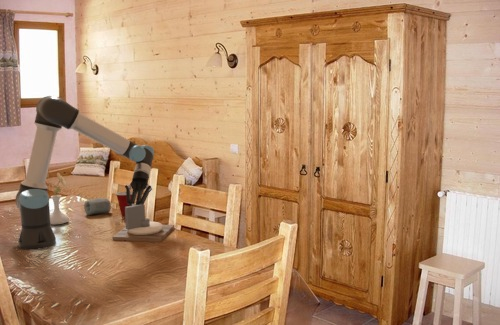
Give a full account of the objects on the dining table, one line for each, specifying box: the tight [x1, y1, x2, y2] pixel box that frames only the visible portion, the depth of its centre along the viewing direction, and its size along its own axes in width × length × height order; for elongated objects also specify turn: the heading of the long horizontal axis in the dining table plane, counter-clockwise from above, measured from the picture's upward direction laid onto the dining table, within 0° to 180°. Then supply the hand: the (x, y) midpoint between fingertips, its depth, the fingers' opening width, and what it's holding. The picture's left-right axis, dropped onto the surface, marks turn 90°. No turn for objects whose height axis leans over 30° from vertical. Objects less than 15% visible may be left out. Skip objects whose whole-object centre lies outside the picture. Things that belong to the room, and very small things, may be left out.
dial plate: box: [112, 224, 175, 243], centre depth 251 cm, size 22×22×2 cm
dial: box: [124, 204, 163, 235], centre depth 250 cm, size 16×16×12 cm
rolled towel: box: [83, 197, 112, 216], centre depth 289 cm, size 14×10×10 cm
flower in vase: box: [50, 172, 70, 225], centre depth 270 cm, size 13×11×25 cm
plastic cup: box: [115, 191, 133, 217], centre depth 287 cm, size 11×11×12 cm
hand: (131, 217), depth 250 cm, fingers closed
